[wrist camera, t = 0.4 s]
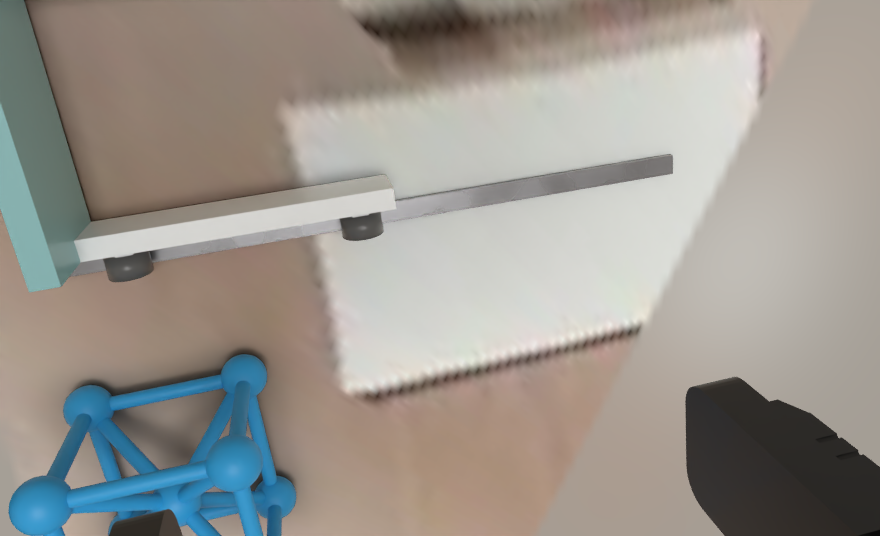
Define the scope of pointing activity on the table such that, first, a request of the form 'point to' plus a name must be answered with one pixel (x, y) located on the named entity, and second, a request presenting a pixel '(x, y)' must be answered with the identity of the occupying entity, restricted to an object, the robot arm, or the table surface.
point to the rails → (432, 205)
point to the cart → (130, 237)
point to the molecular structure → (177, 488)
